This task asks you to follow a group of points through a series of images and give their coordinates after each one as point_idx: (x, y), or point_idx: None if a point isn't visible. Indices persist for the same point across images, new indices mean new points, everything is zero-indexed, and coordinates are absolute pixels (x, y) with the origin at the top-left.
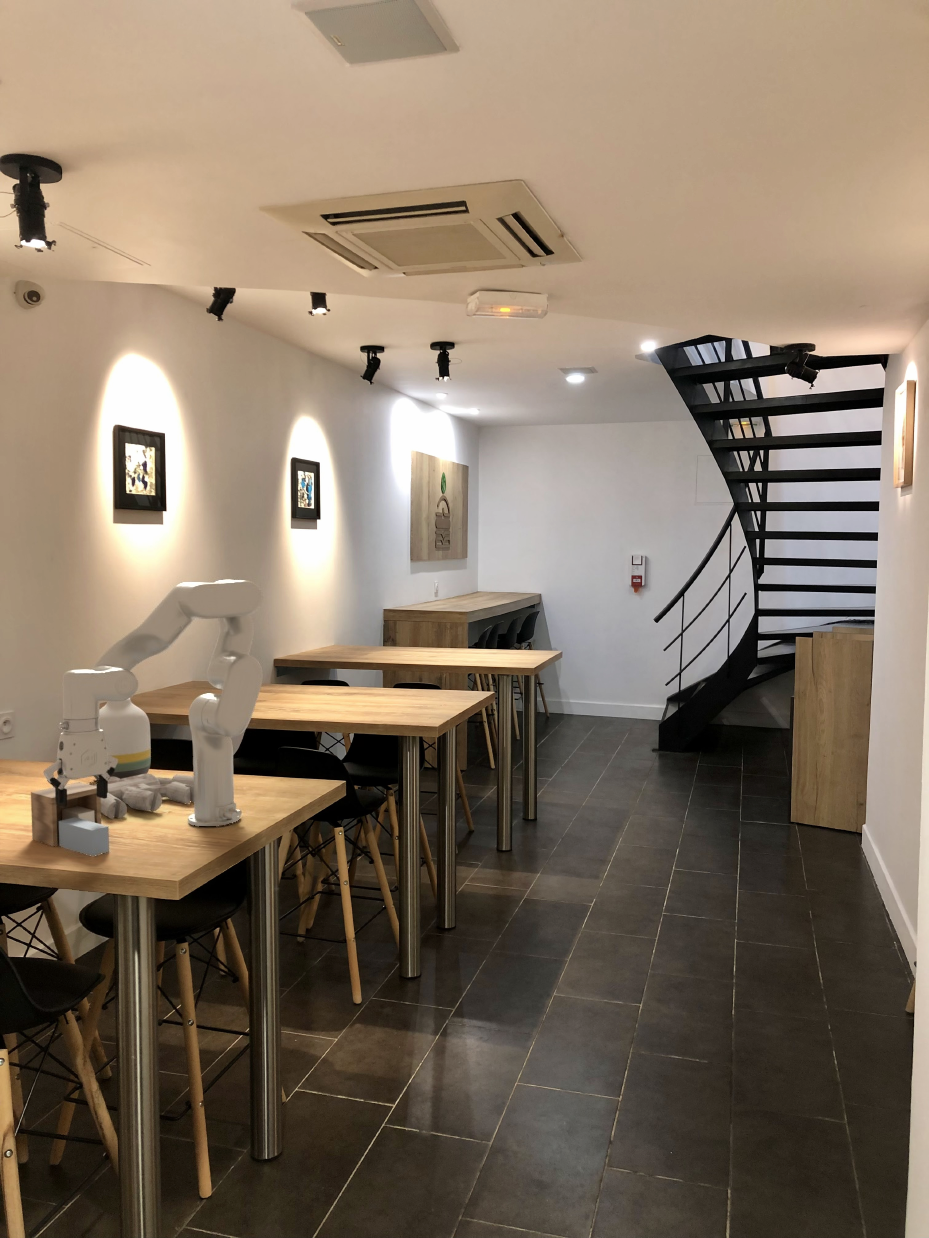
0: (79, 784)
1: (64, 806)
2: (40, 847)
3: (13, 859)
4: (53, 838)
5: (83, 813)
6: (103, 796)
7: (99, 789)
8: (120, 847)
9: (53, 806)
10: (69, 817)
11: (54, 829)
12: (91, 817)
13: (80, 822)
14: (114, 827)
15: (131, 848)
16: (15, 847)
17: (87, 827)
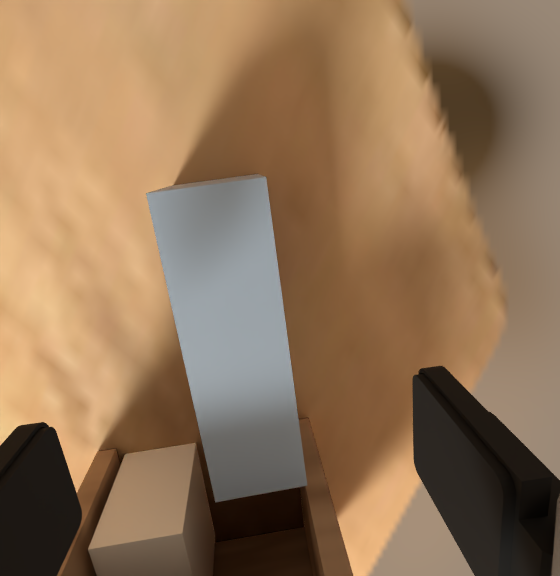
0: None
1: (438, 366)
2: (343, 440)
3: (472, 371)
4: (313, 438)
5: (153, 536)
6: (47, 440)
7: (37, 544)
8: (103, 215)
9: (342, 572)
10: (200, 568)
11: (314, 466)
12: (116, 517)
13: (238, 393)
14: None
15: (66, 158)
16: (398, 492)
17: (255, 267)
